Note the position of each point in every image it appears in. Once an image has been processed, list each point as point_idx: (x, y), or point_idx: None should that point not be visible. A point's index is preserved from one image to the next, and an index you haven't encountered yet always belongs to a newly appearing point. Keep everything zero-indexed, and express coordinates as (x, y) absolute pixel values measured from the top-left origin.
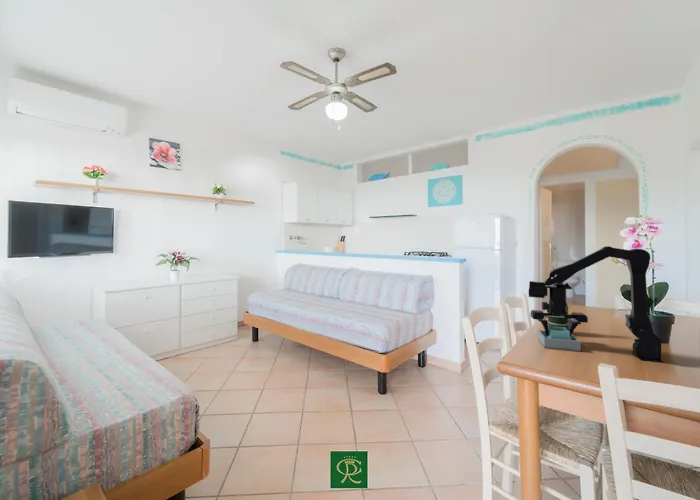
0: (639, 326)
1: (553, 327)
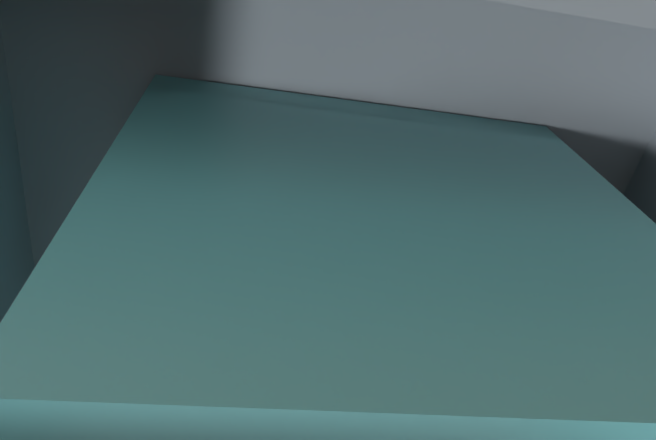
0: None
1: (328, 433)
